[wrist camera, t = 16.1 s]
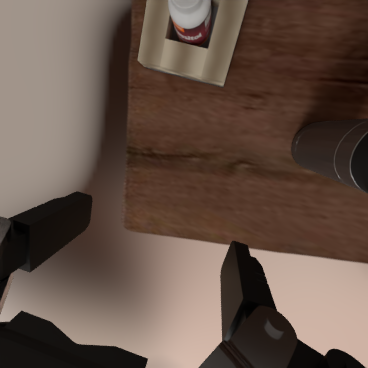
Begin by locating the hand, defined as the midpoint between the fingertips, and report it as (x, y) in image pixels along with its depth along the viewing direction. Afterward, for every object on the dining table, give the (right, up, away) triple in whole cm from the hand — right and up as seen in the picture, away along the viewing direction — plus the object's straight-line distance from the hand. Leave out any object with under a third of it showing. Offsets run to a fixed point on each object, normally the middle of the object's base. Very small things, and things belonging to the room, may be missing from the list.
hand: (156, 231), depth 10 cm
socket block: (+3, +31, +25) cm, 40 cm away
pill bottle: (+3, +31, +24) cm, 39 cm away
